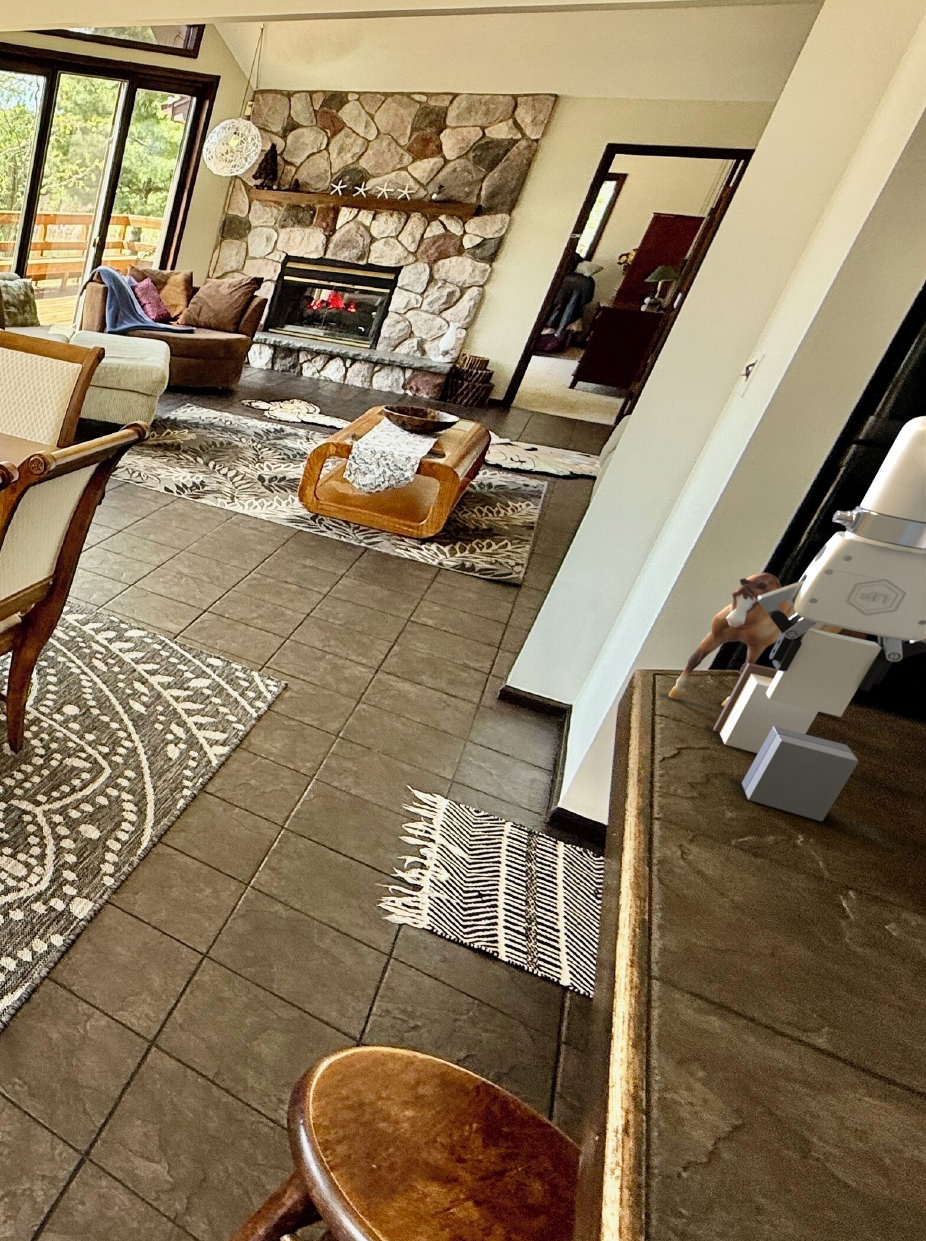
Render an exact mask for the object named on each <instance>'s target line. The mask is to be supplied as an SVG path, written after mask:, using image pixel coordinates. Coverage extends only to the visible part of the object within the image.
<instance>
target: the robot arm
mask: <svg viewBox="0 0 926 1241" xmlns="http://www.w3.org/2000/svg"><path fill="white" fill-rule="evenodd" d="M832 523H837V524H841V525H842V526H845V529H846V530H845V531H837V532H835V533H834V534H833V535H832V537H831V538H829V540H828V541H827V542H826V543H825V544H824V546H823V547H822V548H821V549H820V550H819V552H818V553H817V554H816V555H815V557H814V558H813V560H812V561H811V562H810V564H809V565H808V566H807V568H806V569H805V571H804V572H803V574H802V576H801V577H800V579H799V580H798V581H796V582H794V583H791V584H788V585H786V586H782V588H779V589H777V590H774V591H771V592H768V593H765V594H762V595H760V596H758V597H757V601H758V602H759V604H760V605H761V606H762V607H763V609H764V610H765V611H766V612H767V614H768V615H769V616H770V618H771V619H772V620H773V622H774V623H775V624H776V625H777V627H778V628H779V629H780V631H781V632H782V633H781V635H780V636H779V638H778V640H777V642H775V643H774V645H773V648H772V649H771V651H770V654H769V656H768V657H769V659H770V660H771V661H772V665H773V667H774V669H777V670H779V671H787V670H788V668H789V666H790V664H791V663H792V661H793V659H794V657H795V655H796V654H797V652H798V650H799V648H800V646H801V644H802V642H800V641H799V639H800V637H801V635H802V634H803V633H804V632H806V631H807V630H809V629H810V628H811V627H813V626H814V625H815V624H817V623H821V624H825V625H830V626H835V627H839V628H844V629H849V630H853V631H858V632H863V633H867V635H873V636H877V644H878V645H879V646H880V647H881V650H880V651H879V653H878V655H877V657H876V658H875V660H874V661H873V663H872V665H871V666H870V668H869V670H868V671H867V673H866V675H865V676H864V678H863V680H862V682H861V683H860V685H859V687H858V689H859V690H860V691H864V692H869V691H870V690H871V689H872V687H873V685H879V684H880V685H881V683H882V681H883V680H884V678H885V677H886V675H887V673H888V671H889V669H890V668H891V666H892V664H893V663H897V662H900V661H902V660H903V659H904V658H907V657H912V656H914V655H919V654H922V653H926V415H924V416H918V417H914V418H912V419H910V420H909V421H908V422H906V423H905V424H904V425H903V427H902V428H901V430H900V431H899V433H898V435H897V437H896V438H895V440H894V442H893V444H892V446H891V448H890V449H889V451H888V453H887V455H886V457H885V459H884V460H883V462H882V464H881V466H880V468H879V470H878V472H877V474H876V475H875V477H874V479H873V480H872V483H871V485H870V486H869V488H868V490H867V492H866V493H865V496H864V498H863V499H862V501H861V503H860V505H859V506H856V507H855V509H853V510H847V511H843V510H836V512H835V513H834V514H833V517H832ZM787 600H789V604H790V605H791V606H792V607H794V610H795V611H796V613H795V614H794V615H793V616H791V617H790V618H789V619H788V618H787V616H786V615H785V614H784V612H783V611H782V610H781V609H780V607H779V604H780V603H781V602H784V601H787Z"/></svg>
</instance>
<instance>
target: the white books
mask: <svg viewBox="0 0 926 1241" xmlns="http://www.w3.org/2000/svg"><path fill="white" fill-rule="evenodd" d="M777 672H778V670H777V669H776V668H773V667H769V666H764V665H760V664H756V663H755V664H752V663H747V665H746V667H745V669H744V671H743V673H742V674H741V673H740V675H739V676H740V677H739V678H738V679H737V681H736V682H737V683H736V684H735V686H734V688H733V690H732V692H731V694H730V697H729V696H728V697H729V699H728V701H727V703H726V705H725V707H723V709H722V711H721V713H720V715H719V717H718V719H717V720H716V722H715V724H714V726H713V731H714V732H715V733H718V734H719V735H720V738H721V740H722V742H723V744H724V745H726V746H728V747H732V748H736V749H739V750H743V751H747V752H750V753H754V754H758V753H759V751H760V749H761V747H762V745H763V743H764V742H765V740H766V738H767V736H768V734H769V733H770V731H771V729H772V727H773V726H775V727H779V728H783V729H786V730H790V731H794V732H798V733H802V734H806V735H807V732H808V730H809V728H810V727H811V726H812V724H813V722H814V720H815V718H816V717H817V715H818V713H819V711H815V710H811V709H807V708H803V707H799V706H795V705H791V704H787V703H783V702H779V701H775V700H771V699H769V698H768V696H767V695H766V692H767V690H768V688H769V686H770V684H771V683H772V681H773V679H774V677H775V675H776V673H777Z"/></svg>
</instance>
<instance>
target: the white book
mask: <svg viewBox="0 0 926 1241" xmlns="http://www.w3.org/2000/svg"><path fill="white" fill-rule="evenodd" d="M799 641H800V642H802V644H801V646H800V648H799V650H798V652H797V654H796V655H795V657H794V659H793V661H792V663H791V664H790V666H789V668H788V670H787V671H779V670H778V672H777V673H776V675H775V677H774V679H773V681H772V683H771V684H770V686H769V688H768V690H767V692H766V695H767V696H768V698H769V699H771V700H775V701H779V702H783V703H787V704H791V705H795V706H799V707H803V708H807V709H811V710H815V711H818V713H823V714H828V715H831V716H835V717H840V718H841V717H842V716H843V714H844V712H845V711H846V709H847V707H848V706H849V704H850V703H851V701H852V699H853V697H854V696H855V694H856V692H857V690H858V689H859V688H858V687H859V685H860V683H861V682H862V680H863V678H864V676H865V675H866V673H867V671H868V670H869V668H870V666H871V665H872V663H873V661H874V660H875V658H876V657H877V655H878V653H879V651H880V650H881V647H880V646H879V645H878V642H875V641H871V640H868V639H866V640H862V639H858V638H853V637H848V636H843V635H839V634H834V633H829V632H825V631H820V630H815V629H811V628H810V629H809V630H807V631H806V632H804V633H803V634H802V635H801V637H800V639H799Z"/></svg>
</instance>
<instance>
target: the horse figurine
mask: <svg viewBox="0 0 926 1241" xmlns="http://www.w3.org/2000/svg"><path fill="white" fill-rule="evenodd" d="M739 583H740V585H741V586H738V588H736V589H735V591H733V592H732V593H731V597H732V602H731V603H730V604H728V605H726V606H725V607H724V608H723V609H722V610H720V611H719V612H718V613H716V614H715V615H714V616H713V618H712V620H711V625H710V630H711V631H710V632H709V633H708V634H707V635H706V636H705V637H704V638H703V640H702V641H701V642H700V643H699V644H698V646H697V648H696V650H695V651H694V652H693V653H692V654H691V655H690V657H689V659H688V660H687V664H686V666H685V668H684V669H683V671H682V672H681V674H680V676H679V677H678V678H677V679H676V683H675V685H674V686H673V687H672V688H671V690H670V691H669V693H668V697H669V698H670V699H673V700H681V699H683V698H684V697H685V694H686V688H684V686H685V685H686V684H687V683H688V679H689V677H690V676H691V673H693V671H694V670H695V669H696V668H697V667H699V666H700V665H701V663H702V662H703V661H704V659H705V658H706V657H707V656H709V655H710V654H712V653H713V652H714V651H715V650H717V649H718V648H719V647H721V646H722V645H723V644H726V643H729V642H730V643H732V642H733V643H737V642H740V643H742V644H744V645H746V646H747V650H746V659H745V662H744V663H743V664H742V665H741V667H740V670H739V672H740V675H741V674H742V673H743V671H744V669H745V667H746V665H747V663H752V664H756V663H757V661H758V659H759V658H760V657H761V655H762V654H763V652H764V651H765V650H766V649H767V648H768V647H769V646H771V645H773V644H776V642H777V640H778V638H779V636H780V635H781V633H782V632H781V631H780V629H779V628H778V627H777V625H776V624H775V623H774V622H773V620H772V619H771V618H770V616H769V615H768V614H767V612H766V611H765V610H764V609H763V607H762V606H761V605H760V604H759V602H758V601H757V597H758V596H760V595H762V594H765V593H768V592H771V591H774V590H777V589H779V588H782V587H783V585H782V584H781V582H780V580H779V578H778V577H777V576H775V575H774V574H772V573H769V572H761V573H760V574H752V575H750V576H748V577H747V578H745V577H742V578H740V579H739ZM779 607H780V609H781V610H782V611H783V612H784V614H785V615H786V616H787V618H788V619H789V618H790V617H791V616H793V615H794V614H795V613H796V611H795V610H794V607H792V606H791V605H790V604H789V600H787V601H784V602H781V603H780V604H779ZM811 629H815V630H820V631H825V632H829V633H834V634H839V635H843V636H848V637H853V638H858V639H862V640H867V636H868V633H863V632H858V631H853V630H849V629H844V628H839V627H835V626H830V625H825V624H821V623H817V624H815V625H814V626H813V627H811ZM730 696H731V695H730ZM730 696H728V697H726V699H725V700H723V702H722V703H721V707H723V708H724V707H725V705H726V703H727V701H728V699H729V697H730Z"/></svg>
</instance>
